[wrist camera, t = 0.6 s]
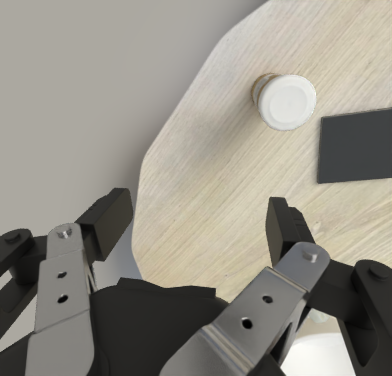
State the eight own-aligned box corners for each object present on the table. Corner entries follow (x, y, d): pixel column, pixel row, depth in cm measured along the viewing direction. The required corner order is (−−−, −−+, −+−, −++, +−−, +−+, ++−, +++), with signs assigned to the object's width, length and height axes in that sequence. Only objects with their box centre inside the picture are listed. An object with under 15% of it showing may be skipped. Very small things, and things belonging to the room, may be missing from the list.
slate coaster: (321, 117, 31) (322, 117, 31) (406, 105, 29) (409, 106, 29) (316, 182, 35) (318, 184, 35) (390, 176, 33) (393, 177, 33)
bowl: (379, 347, 51) (403, 393, 44) (284, 355, 58) (291, 396, 50) (364, 284, 43) (390, 327, 36) (256, 302, 50) (260, 341, 43)
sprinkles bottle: (292, 83, 30) (330, 92, 18) (271, 115, 32) (293, 141, 20) (262, 65, 29) (282, 63, 18) (243, 99, 32) (249, 116, 20)
